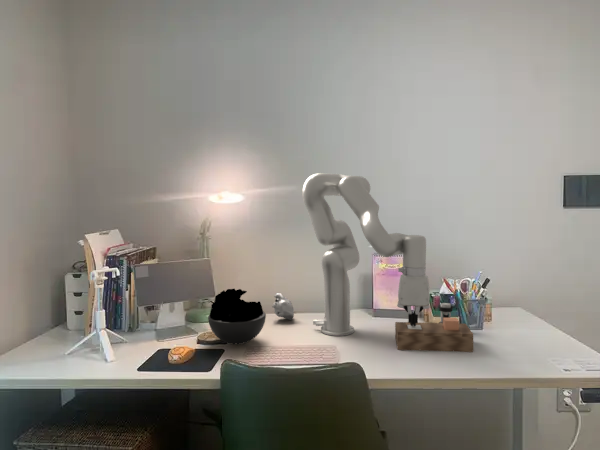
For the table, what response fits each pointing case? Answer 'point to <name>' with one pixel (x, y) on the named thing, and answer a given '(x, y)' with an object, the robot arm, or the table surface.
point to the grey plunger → (414, 327)
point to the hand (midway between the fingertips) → (412, 324)
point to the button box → (433, 338)
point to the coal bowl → (235, 317)
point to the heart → (283, 307)
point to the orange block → (450, 324)
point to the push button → (445, 310)
